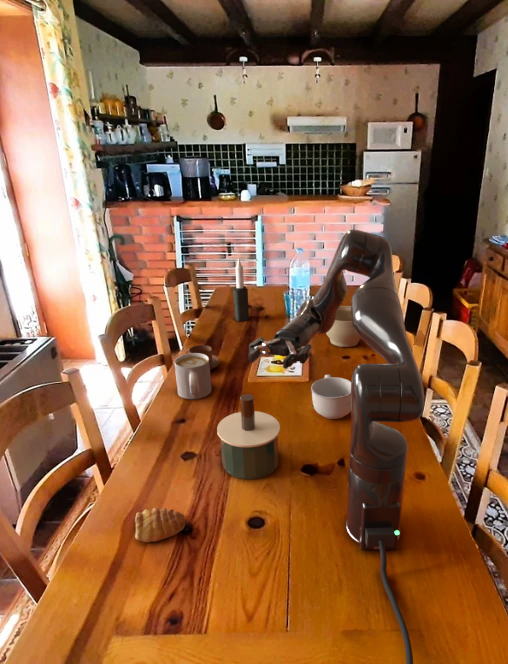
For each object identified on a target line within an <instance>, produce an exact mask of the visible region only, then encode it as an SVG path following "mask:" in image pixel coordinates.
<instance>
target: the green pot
mask: <svg viewBox="0 0 508 664" xmlns="http://www.w3.org/2000/svg"><path fill="white" fill-rule="evenodd" d="M219 440H220V453H221V454H220V456H221V464H222V467H223V468H224V471H225V472H226V473H227V474H229V475H230V476H232V477H235V478H237V479H242V480H257V479H262V478H265V477H267V476H269V475H271V474H272V473H274V471H275V470H276V469H277V467H278V465H279V435H278V436H277V437H276V438H275V439H274V440H273V441H271V442H269V443H267V444H265V445H262V446H257V447H237V446H233V445H230V444H227V443H226V442H224V441H223V440H221V439H220V438H219Z"/></svg>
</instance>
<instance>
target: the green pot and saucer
mask: <svg viewBox="0 0 508 664" xmlns="http://www.w3.org/2000/svg"><path fill="white" fill-rule="evenodd" d="M189 353H200V354H204V355H206V356H208V357H209V365H210V371H211V370H214V369H216V368H217V367H218V366H219V365H220V363H221V359H220V358H219V356H217V355H214V354H213V349H212V347H211V346H210V345H206V344H198V345H194V346H191V347H190V348H188V349H185V354H189Z"/></svg>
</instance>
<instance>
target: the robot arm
mask: <svg viewBox="0 0 508 664" xmlns="http://www.w3.org/2000/svg"><path fill="white" fill-rule="evenodd" d="M392 251H393V250H392V246H391V243H390V240H388V239H387V238H386V237H383V236H382V235H379V234H374V233H370V232H367V231H363V230H360V229H350V230H348V231H346V232H345V233H344V234H343V236H342V237H341V239H340V241H339V243H338V245H337V248H336V250H335V252H334V255H333V257H332V260H331V262H330V265H329V267H328V269H327V271H326V275H325V278H324V280H323V282H322V284H321V286H320V287H319V288H318V290H317V291H316V293H315V295H314V297H313V298H310V299H307V300H305V301H304V302H302V304H301V305H300V307H299V308H298V310H297V313H296V317H295V318H293V319H292V320H291V321H289V322H287V323H286V324H285V325H284V326H283V327H281V328H280V329H279V330H278V331H277V332H275V334H274V337H273V338H272V339H268V340H265V338H264V337H262V336H260V337H258V338H256V339H255V340H253V341H252V342H251V343H249V345H248V349H249V350H248V351H249V353H248V361H249V363H252V364H253V363H255V362H256V361H257V360H258V359H259V358H260V357H265V358H269V357H272V356H280V357H284V359H283V360H282V361H283V362H282V364H283V365H282V368H283V369H284V370H287V369H288V368H290V367H292V366H293V365H294V364H297V362H299V364H302V365H303V364H305V363H306V362H307V361H308V359H309V358H310V357H311V355H312V344H309V343H310V342H311V340H312V339H313V338H314V337H315V336H316V335H317V334H318V335H325V334H326V333H327V332H328V331H329V330H330V329H331V328H332V326H333V324H334V322H335V319H336V313H337V310H338V308H339V307H340V306H342V305H343V303H344V302H345V300H346V298H347V296H348V285H347V281H346V278H345V274H344V271H347V272H350V273H353V274H357V275H361V276H365V277H368V279H367V280H366V281H364V282H363V283H362V284H360V286H359V287H357V289H355V291H354V293H353V295H352V297H351V300H350V306H351V313H352V323H353V327H354V329H355V331H356V333H357V334H358V336H359V337H360V338H361V339H360V340H361V341H363V342H364V343H365V344H366V345H367V346H368V347H369V348H370V349H372V350H373V352H375V353H376V354H378V355H379V356H380V357H381V358H383V360H384V361H385V362H386V363H360V364H357V365H356V366H355V367H354V369H353V371H352V375H351V380H350V381H351V412H350V413H351V421H350V422H351V423H350V424H351V425H350V444H349V445H350V446H349V464H348V484H347V485H348V487H347V507H346V511H347V512H346V522H345V530H346V534H347V536H348V537H349V539H350V540H351V541H352V542H354V543H355V544H357V545H358V546H359V548H360V550H361V551H379V554H380V576H381V580H382V584H383V587H384V590H385V592H386V594H387V597H388V599H389V601H390V604H391V607H392V610H393V613H394V615H395V617H396V620H397V623H398V625H399V629H400V632H401V636H402V640H403V645H404V653H405V664H414V655H413V647H412V642H411V637H410V634H409V630H408V626H407V623H406V622H405V618H404V617H403V613H402V611H401V609H400V606H399V604H398V601H397V598H396V596H395V594H394V591H393V589H392V586H391V584H390V581H389V579H388V573H387V568H388V567H387V565H388V563H387V562H388V561H387V552H386V551H396V550H397V549H398V542H399V540H400V538H401V537H400V536H401V523H402V522H401V520H402V509H403V500H404V490H405V489H404V488H405V480H406V479H405V478H406V470H407V459H408V452H409V451H408V450H409V445H408V441H407V439H406V437H405V435H403V434H402V433H401V432H400V431H399V430H398V429H396V428H394V427H392V426H390V425H387V424H385V423H410V422H411V423H412V422H415V421H418V420H419V419H420V418H421V417H422V416H423V413H424V409H425V402H426V401H425V389H424V384H423V380H422V375H421V374H420V370H419V367H418V363H417V361H416V359H415V356H414V353H413V350H412V348H411V345H410V341H409V338H408V334H407V329H406V325H405V320H404V313H403V309H402V305H401V301H400V297H399V294H398V291H397V286H396V280H395V275H394V266H393V265H394V263H393V252H392ZM261 350H262V351H261Z"/></svg>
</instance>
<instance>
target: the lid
mask: <svg viewBox="0 0 508 664" xmlns="http://www.w3.org/2000/svg"><path fill="white" fill-rule="evenodd" d="M239 407H240V411H238V412H234V413H231V414H229V415H227V416H225V417H224V418H222V420H220V421H219V423H218V424H217V427H216V432H217V436H218V437H219V440H220V439H221V440H223V441H224V442H226V443H227V444H230V445H233V446H237V447H257V446H262V445H265V444H267V443H269V442H271V441H273V440H274V439H275V438H276V437H277V436H278V437H279V434H280V432H281V425H280V422H279V421H278V420H277V418H276V417H274V415H273V416H272V415H270V414H269V413H266V412H263V411H256V410H255V397H254V395H253V394H251V393H244V394H241V395H240V397H239Z"/></svg>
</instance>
